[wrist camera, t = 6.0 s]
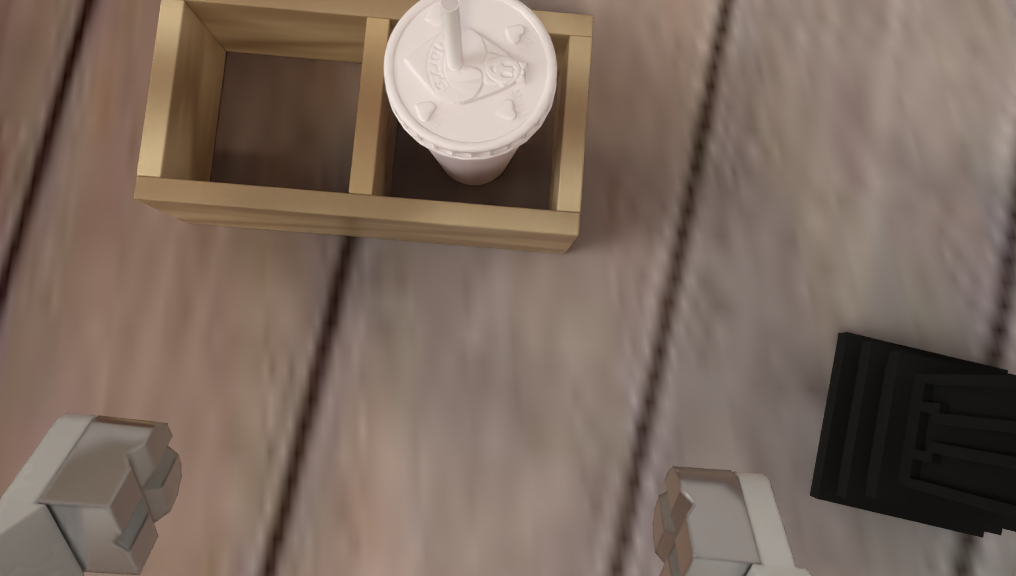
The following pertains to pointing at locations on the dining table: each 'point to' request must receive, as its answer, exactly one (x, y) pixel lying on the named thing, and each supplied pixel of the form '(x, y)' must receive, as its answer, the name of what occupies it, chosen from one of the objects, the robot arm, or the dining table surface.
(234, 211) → the rack
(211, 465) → the dining table surface
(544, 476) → the dining table surface
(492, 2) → the smoothie
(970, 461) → the chess piece
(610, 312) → the dining table surface
